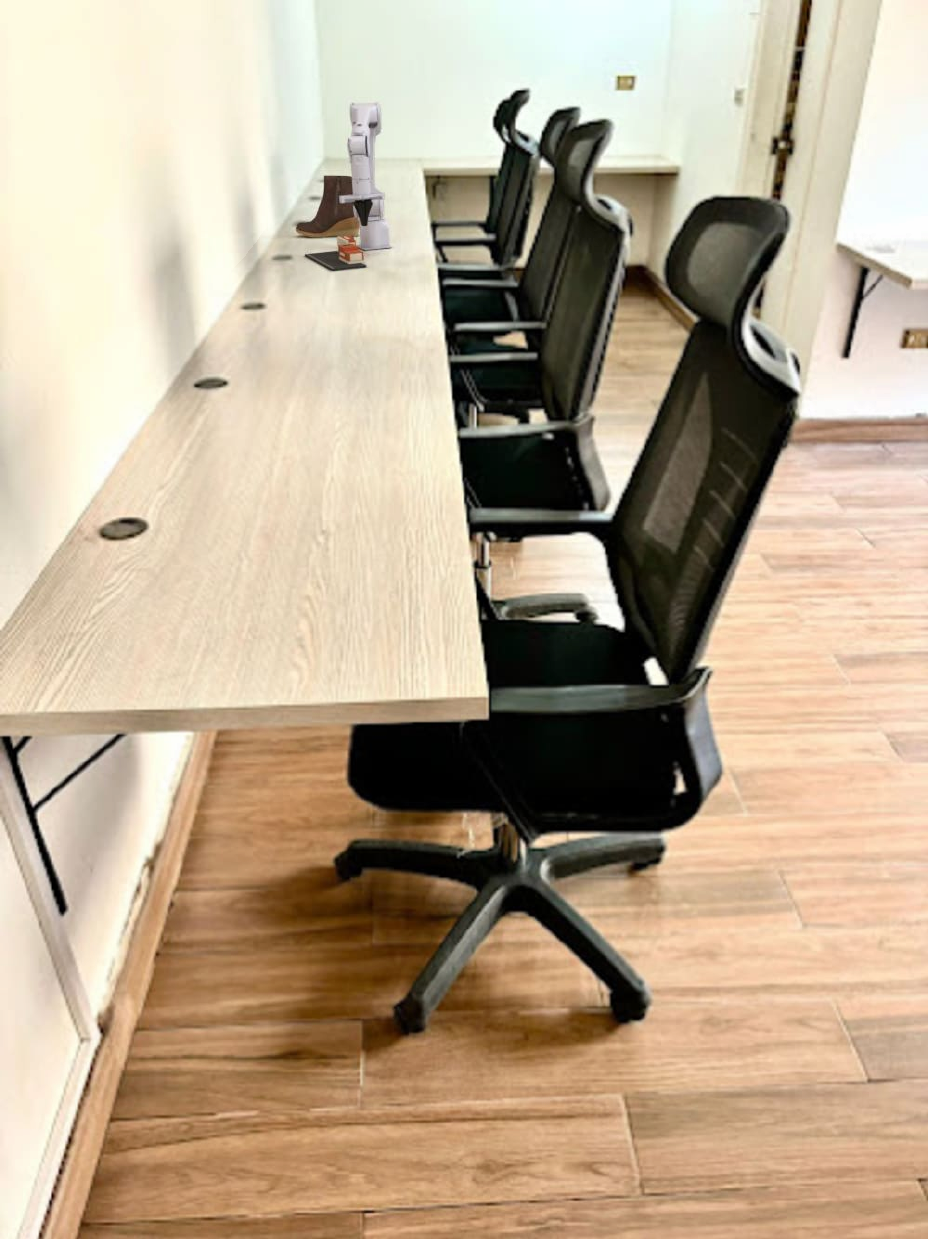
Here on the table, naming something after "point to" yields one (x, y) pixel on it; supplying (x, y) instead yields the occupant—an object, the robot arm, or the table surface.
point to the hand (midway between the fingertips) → (364, 225)
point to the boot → (333, 211)
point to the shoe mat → (332, 261)
